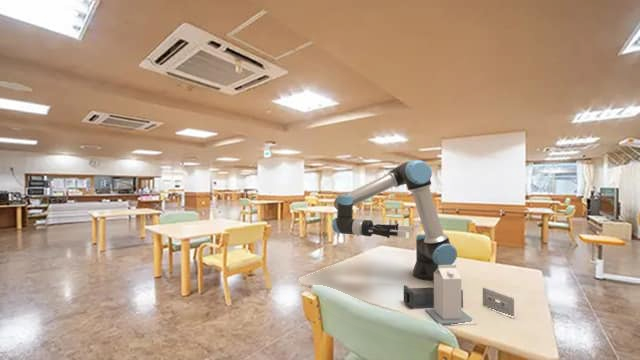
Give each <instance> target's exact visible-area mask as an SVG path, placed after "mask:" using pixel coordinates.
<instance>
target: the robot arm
mask: <svg viewBox="0 0 640 360" xmlns="http://www.w3.org/2000/svg"><path fill="white" fill-rule="evenodd" d="M432 175H433V173H432V168H431V166H430V165H429V164H428V163H427V162H426V161H424V160H420V159H419V160H417V159H416V160H415V159H414V160H411V161H406V162H403V163H401V164H399V165H398V166H396V167H395V168H393V169H391V170H389V171H387V173H386V174H384V175H383V176H380V177H379V178H377V179H374V180H373V181H370V182H369V183H365V184H364V185H362V186H360V187H358V188H356V189H354V190H352V191H350V192H348V193H344V194H342V193H341V194H338V195H337V197H336V198H335V199H334V201H333V205H334V208H335V210H337V217H335V218H333V220H332V224H331V228H332V231H333V232H334V233H336V234H342V235H351V236H353V235H354V236H355V235H356V237H360V236H364V237H372V236H373V235H374V236H375V235H376V236H380V237H384V238H386V239H390V237H393V238H394V237H395V238H404V239H407V233H410V234H411V233H412V234H413V232H414V231H413V230H414V229H413V226H412V225H411V226H410V225H399V223H396V224H379V223H376V224H374V222H373V220H371V219H370V220H369V219H359V218H353V213H354V212H353V211H354V210H353V209H354V208H353V207H354V206H356V205H358V204H360V203H362V202H364V201H366V200H369V199H371V198H372V197H374V196H375V197H376V195H379V194H381V193H382V192H383V193H384V192H386V191H388V190H389V189H391V188H393V187H394V188H398V187H400V186H403V185H405V186H406V188H407V191H408V192H411V194H412V196H413V200H414V203H415V207H416V210H417V213H418V216H419V219H420V222H421V226H422V229H423V232H424V233H421V234H416V238H415V241H416V243H415V245H416V247H415V250H416V253H415V256H416V257H415V258H416V260H415V264H414V267H413V271H412V275H413V276H414V277H415V278H417V279H420V280H423V281H433V282H434V272H435V271H436V270H437V269H438V265H454V264H455V262H456V260H457V258H458V252H457V248H456V247H455V246H454V245H453V244H451V241H450V238H449V235H448V234H446V233H444V230H443V227H442V224H441V220H440V217H439V214H438V211H437V207H436V206H435V202H434V199H433V195H432V191H431V188H430V187H431V185H432V181H431V178H432Z"/></svg>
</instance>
